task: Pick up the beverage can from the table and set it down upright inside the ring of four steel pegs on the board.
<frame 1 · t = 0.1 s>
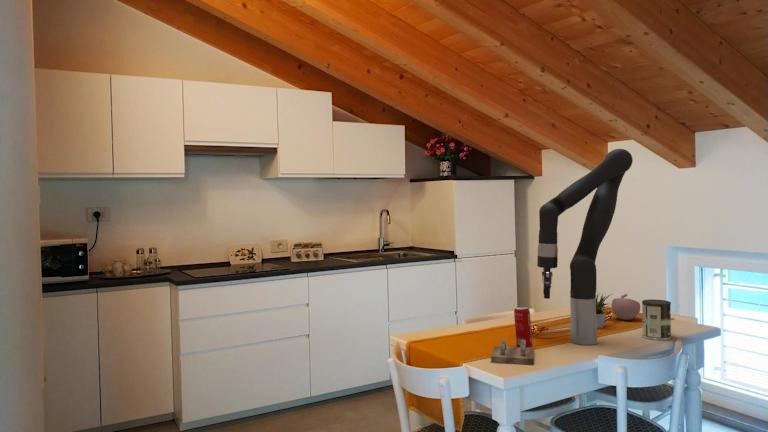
hand: (546, 296, 221), 17 cm above the table, tool pointing down, fingers open, 8 cm apart
coffee can: (656, 337, 223), on the table
pink apple: (625, 320, 255), on the table
beverage can: (523, 347, 212), on the table
peg board: (513, 357, 199), on the table
house plant: (593, 327, 243), on the table
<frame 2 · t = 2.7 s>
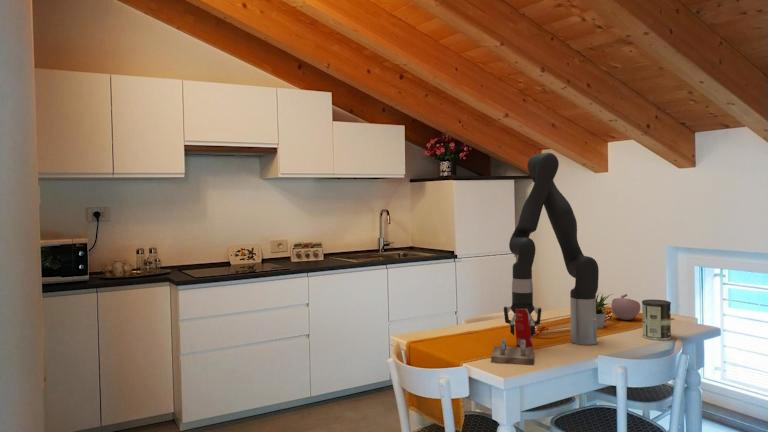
hand: (522, 334, 212), 5 cm above the table, tool pointing down, fingers open, 6 cm apart
beverage can: (523, 347, 212), on the table, touching gripper
everything else where it was.
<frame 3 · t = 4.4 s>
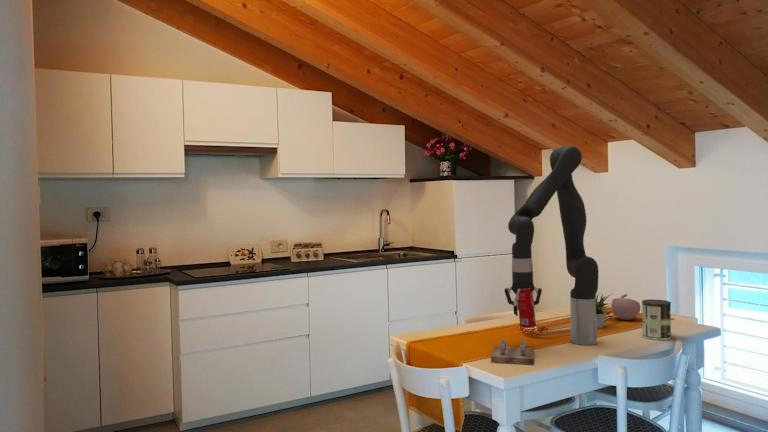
hand: (523, 315, 212), 12 cm above the table, tool pointing down, fingers closed on beverage can, 4 cm apart
beverage can: (526, 327, 212), point 7 cm above the table, touching gripper
everything else where it was.
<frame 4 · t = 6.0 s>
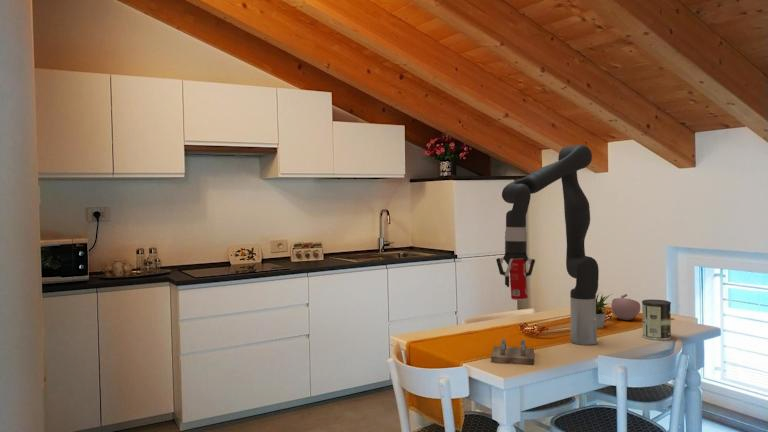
hand: (515, 286, 204), 24 cm above the table, tool pointing down, fingers closed on beverage can, 4 cm apart
beverage can: (518, 299, 204), point 19 cm above the table, touching gripper
everything else where it was.
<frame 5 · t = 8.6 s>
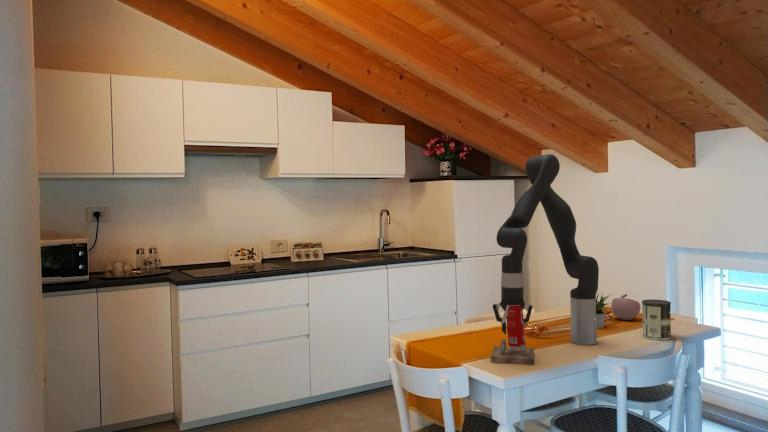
hand: (512, 333, 198), 9 cm above the table, tool pointing down, fingers closed on beverage can, 4 cm apart
beverage can: (515, 346, 199), point 4 cm above the table, touching gripper
everything else where it was.
when the fingers open (8 cm above the table, at t = 9.1 s): beverage can drops 1 cm, resting on peg board.
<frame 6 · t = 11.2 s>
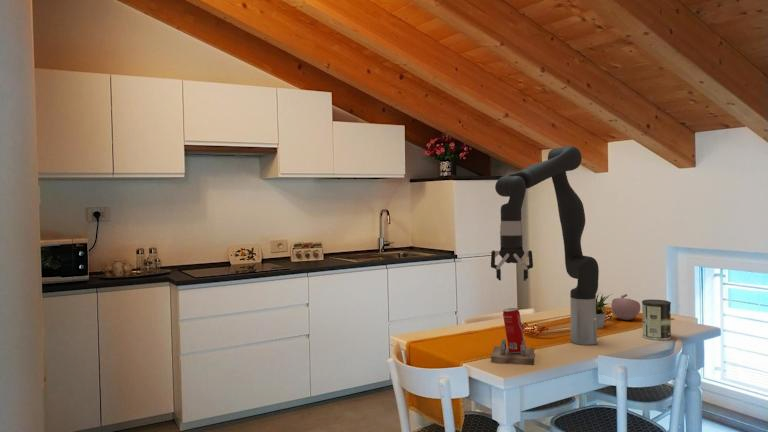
hand: (512, 280, 198), 27 cm above the table, tool pointing down, fingers open, 8 cm apart
beverage can: (516, 352, 199), point 2 cm above the table, touching peg board
everything else where it was.
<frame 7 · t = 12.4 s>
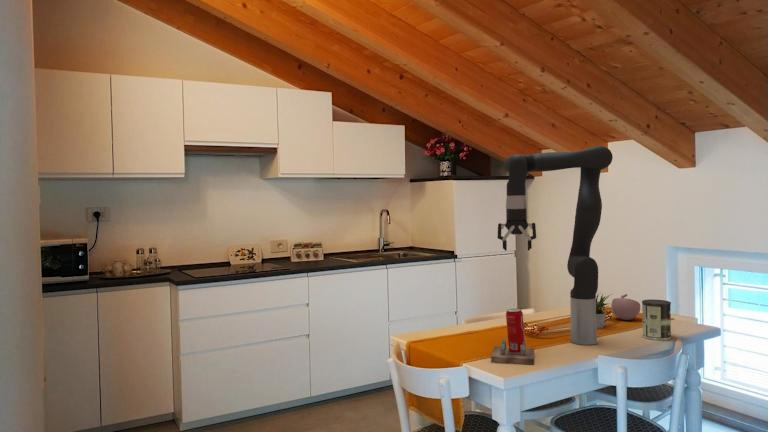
hand: (517, 250, 215), 36 cm above the table, tool pointing down, fingers open, 8 cm apart
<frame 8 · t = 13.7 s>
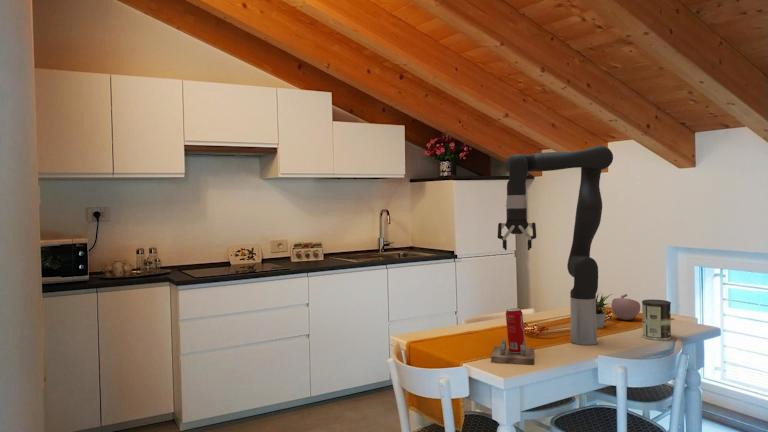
hand: (517, 250, 215), 36 cm above the table, tool pointing down, fingers open, 8 cm apart
nothing on the table moved.
at the end: beverage can 1.0 cm off-centre on the peg board, point 1.8 cm above the peg board's base; beverage can tilted 0°; the gripper is holding nothing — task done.
